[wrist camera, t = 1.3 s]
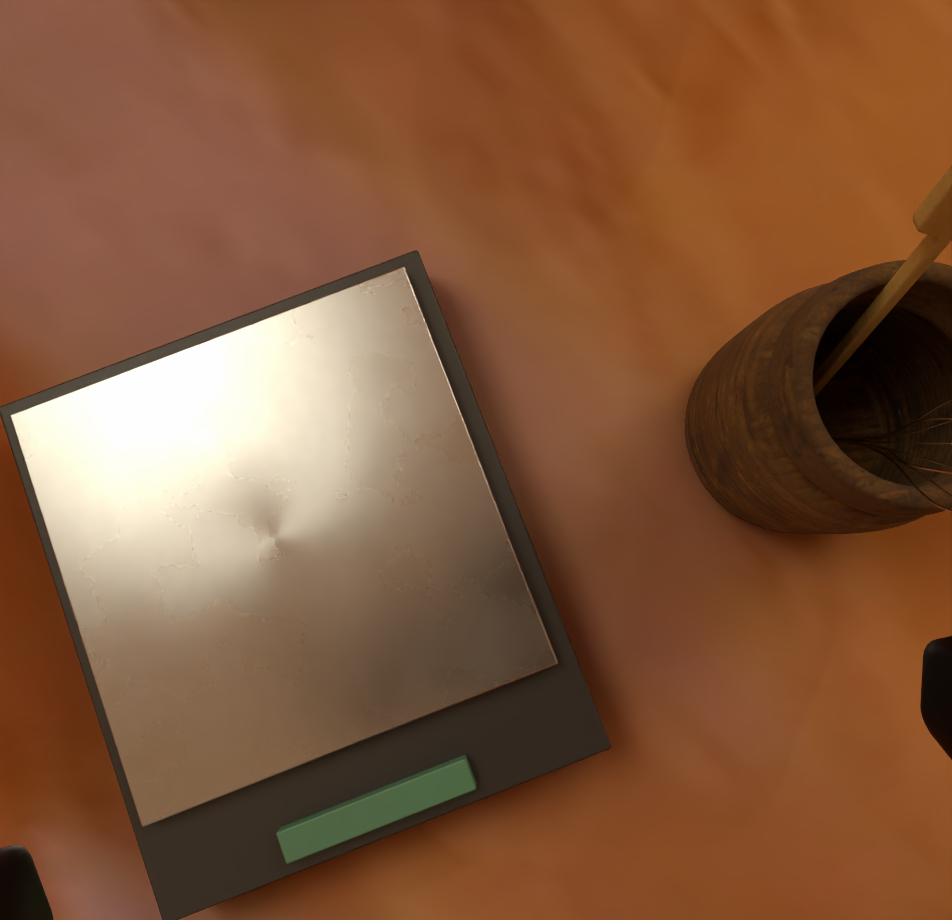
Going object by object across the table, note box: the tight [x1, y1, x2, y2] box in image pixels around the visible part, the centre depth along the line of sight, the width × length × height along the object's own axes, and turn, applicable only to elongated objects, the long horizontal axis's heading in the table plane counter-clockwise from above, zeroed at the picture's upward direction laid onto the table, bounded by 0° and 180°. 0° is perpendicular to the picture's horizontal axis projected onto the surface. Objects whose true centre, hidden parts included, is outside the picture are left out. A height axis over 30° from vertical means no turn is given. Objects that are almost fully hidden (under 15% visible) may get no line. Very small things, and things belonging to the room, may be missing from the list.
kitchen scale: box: [0, 250, 611, 920], centre depth 20 cm, size 14×12×2 cm
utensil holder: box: [685, 166, 952, 534], centre depth 16 cm, size 6×6×12 cm
